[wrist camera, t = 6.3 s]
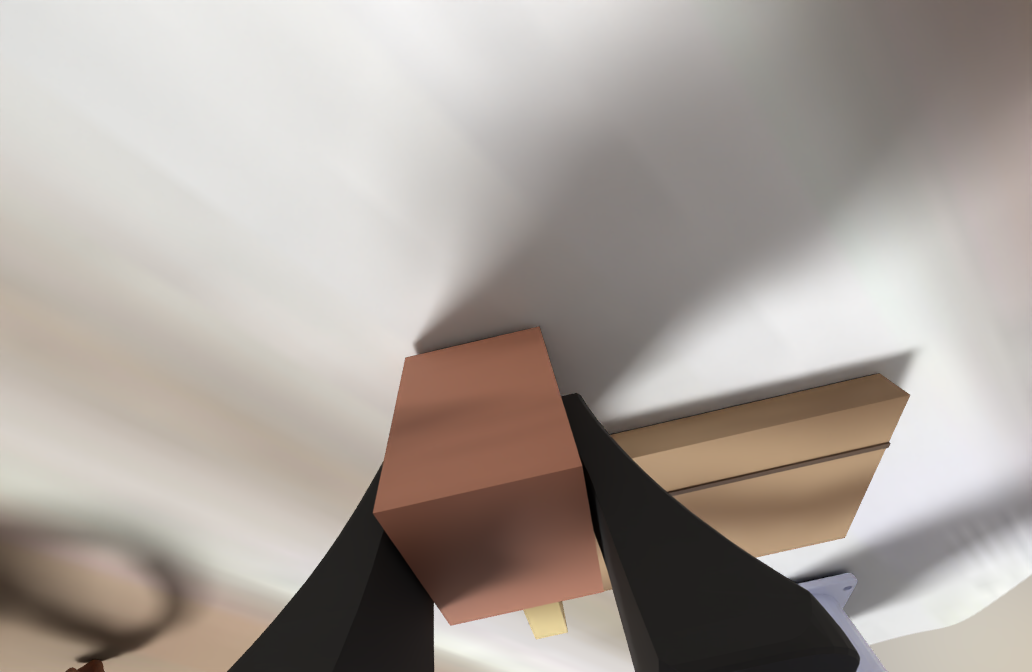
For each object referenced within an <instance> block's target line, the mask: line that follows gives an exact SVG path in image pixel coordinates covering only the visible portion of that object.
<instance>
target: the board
mask: <svg viewBox="0 0 1032 672" xmlns="http://www.w3.org/2000/svg"><path fill="white" fill-rule="evenodd" d="M909 397H910V394H908V393H907V392H905V391H904V390H903V389H901V388H900V387H898V386H897V385H895V384H894V383H893V382H891V381H890V380H888V379H887V378H886V377H884V376H883V375H881V374H880V373H879V374H874V375H870V376H866V377H861V378H857V379H852V380H848V381H844V382H839V383H835V384H831V385H826V386H822V387H818V388H813V389H809V390H804V391H800V392H796V393H791V394H787V395H783V396H778V397H774V398H769V399H765V400H761V401H756V402H752V403H748V404H743V405H739V406H734V407H730V408H726V409H721V410H717V411H713V412H708V413H704V414H700V415H695V416H691V417H686V418H682V419H678V420H673V421H669V422H665V423H660V424H656V425H651V426H647V427H643V428H638V429H634V430H630V431H625V432H621V433H616V434H612V435H610V436H611V437H612V438H613V439H614V440H615V441H616V442H617V443H618V445H619V446H620V447H621V448H622V449H623V450H624V451H625V452H626V453H627V454H628V455H629V456H630V457H631V458H632V459H633V460H634V461H635V462H636V463H637V464H638V465H639V466H640V467H641V468H642V469H643V470H644V471H645V472H646V473H647V474H648V475H649V476H650V477H651V478H652V479H653V480H654V481H655V482H656V483H658V484H659V485H660V486H661V487H662V488H663V489H664V490H666V491H667V492H668V493H669V494H670V495H671V496H672V497H674V498H675V499H676V500H677V501H679V502H680V503H681V504H682V505H683V506H685V507H686V508H687V509H688V510H690V511H691V512H692V513H693V514H695V515H696V516H697V517H699V518H700V519H701V520H703V521H704V522H706V523H707V524H708V525H710V526H711V527H712V528H714V529H715V530H716V531H718V532H719V533H720V534H722V535H723V536H724V537H726V538H727V539H729V540H730V541H731V542H733V543H734V544H736V545H737V546H739V547H740V548H742V549H743V550H745V551H746V552H748V553H749V554H751V555H752V556H754V557H755V558H756V557H760V556H765V555H769V554H774V553H778V552H783V551H787V550H792V549H796V548H801V547H805V546H810V545H815V544H819V543H824V542H828V541H833V540H837V539H842V538H845V536H846V534H847V532H848V530H849V528H850V525H851V523H852V521H853V519H854V517H855V515H856V512H857V510H858V508H859V506H860V504H861V501H862V499H863V497H864V495H865V493H866V491H867V488H868V486H869V484H870V482H871V480H872V477H873V475H874V473H875V471H876V469H877V467H878V464H879V462H880V460H881V458H882V456H883V453H884V451H885V449H886V448H889V445H890V443H889V440H890V438H891V436H892V434H893V432H894V429H895V427H896V425H897V423H898V421H899V419H900V416H901V414H902V412H903V410H904V408H905V406H906V403H907V401H908V399H909ZM594 537H595V542H596V548H597V554H598V560H599V565H600V571H601V577H602V583H603V589H604V591H607V590H611V589H612V586H611V582H610V578H609V575H608V571H607V568H606V565H605V562H604V559H603V556H602V553H601V550H600V547H599V544H598V542H597V539H596V536H595V534H594Z"/></svg>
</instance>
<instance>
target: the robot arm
mask: <svg viewBox="0 0 1032 672" xmlns="http://www.w3.org/2000/svg"><path fill="white" fill-rule="evenodd" d="M561 398H562V401H563V405H564V408H565V411H566V414H567V418H568V421H569V424H570V428H571V431H572V434H573V437H574V441H575V444H576V447H577V450H578V454H579V457H580V460H581V463H582V467H583V473H584V479H585V485H586V490H587V496H588V502H589V508H590V513H591V519H592V525H593V531H594V534H595V536H596V539H597V542H598V544H599V547H600V550H601V553H602V556H603V559H604V562H605V565H606V568H607V571H608V575H609V578H610V582H611V586H612V589H613V593H614V596H615V600H616V604H617V607H618V611H619V614H620V618H621V622H622V625H623V629H624V632H625V636H626V640H627V643H628V647H629V651H630V654H631V658H632V662H633V665H634V669H635V672H887V670H886V669H885V667H884V666H883V664H882V663H881V661H880V660H879V659H878V657H877V656H876V654H875V653H874V652H873V650H872V649H871V647H870V646H869V645H868V643H867V642H866V640H865V639H864V638H863V636H862V635H861V634H860V632H859V631H858V629H857V628H856V627H855V625H854V624H853V622H852V621H851V620H850V618H849V617H848V615H847V614H846V613H845V611H844V610H843V608H844V606H845V604H846V602H847V600H848V599H849V597H850V595H851V593H852V591H853V590H854V588H855V586H856V584H857V582H858V580H857V578H856V577H855V576H854V575H853V574H852V573H844V574H840V575H835V576H831V577H826V578H822V579H817V580H812V581H808V582H803V583H799V584H796V583H795V582H793V581H791V580H790V579H788V578H787V577H785V576H783V575H782V574H780V573H778V572H777V571H775V570H774V569H772V568H771V567H769V566H767V565H766V564H764V563H763V562H761V561H760V560H758V559H756V558H755V557H754V556H752V555H751V554H749V553H748V552H746V551H745V550H743V549H742V548H740V547H739V546H737V545H736V544H734V543H733V542H731V541H730V540H729V539H727V538H726V537H724V536H723V535H722V534H720V533H719V532H718V531H716V530H715V529H714V528H712V527H711V526H710V525H708V524H707V523H706V522H704V521H703V520H701V519H700V518H699V517H697V516H696V515H695V514H693V513H692V512H691V511H690V510H688V509H687V508H686V507H685V506H683V505H682V504H681V503H680V502H679V501H677V500H676V499H675V498H674V497H672V496H671V495H670V494H669V493H668V492H667V491H666V490H664V489H663V488H662V487H661V486H660V485H659V484H658V483H656V482H655V481H654V480H653V479H652V478H651V477H650V476H649V475H648V474H647V473H646V472H645V471H644V470H643V469H642V468H641V467H640V466H639V465H638V464H637V463H636V462H635V461H634V460H633V459H632V458H631V457H630V456H629V455H628V454H627V453H626V452H625V451H624V450H623V449H622V448H621V447H620V446H619V445H618V443H617V442H616V441H615V440H614V439H613V438H612V437H611V436H610V434H609V433H608V432H607V431H606V430H605V429H604V427H603V426H602V425H601V424H600V422H599V421H598V420H597V419H596V417H595V416H594V415H593V413H592V412H591V411H590V409H589V408H588V406H587V405H586V403H585V402H584V400H583V399H582V397H581V395H579V394H577V393H575V394H570V395H566V396H562V397H561ZM383 462H384V461H383ZM382 467H383V463H382V465H381V466H380V468H379V470H378V472H377V474H376V475H375V477H374V479H373V481H372V482H371V484H370V486H369V488H368V489H367V491H366V493H365V494H364V496H363V498H362V500H361V501H360V503H359V505H358V506H357V508H356V510H355V511H354V513H353V514H352V516H351V517H350V519H349V521H348V522H347V524H346V525H345V527H344V528H343V530H342V532H341V533H340V535H339V536H338V538H337V539H336V541H335V542H334V544H333V545H332V546H331V548H330V549H329V551H328V552H327V554H326V555H325V556H324V558H323V559H322V561H321V562H320V563H319V565H318V566H317V567H316V569H315V570H314V571H313V573H312V574H311V575H310V577H309V578H308V579H307V581H306V582H305V583H304V584H303V586H302V587H301V588H300V589H299V591H298V592H297V593H296V594H295V595H294V597H293V598H292V599H291V600H290V602H289V603H288V604H287V605H286V606H285V608H284V609H283V610H282V611H281V612H280V614H279V615H278V616H277V617H276V618H275V620H274V621H273V622H272V623H271V624H270V625H269V627H268V628H267V629H266V630H265V631H264V632H263V633H262V634H261V636H260V637H259V638H258V639H257V640H256V641H255V642H254V643H253V645H252V646H251V647H250V648H249V649H248V650H247V651H246V652H245V653H244V654H243V655H242V656H241V657H240V658H239V660H238V661H237V662H236V663H235V664H234V665H233V666H232V667H231V668H230V669H229V670H228V671H227V672H434V601H433V600H432V598H431V597H430V595H429V594H428V592H427V591H426V590H425V588H424V587H423V585H422V584H421V582H420V581H419V579H418V578H417V577H416V575H415V574H414V572H413V571H412V569H411V568H410V566H409V565H408V564H407V562H406V561H405V559H404V558H403V556H402V555H401V553H400V552H399V551H398V549H397V548H396V546H395V545H394V543H393V542H392V540H391V539H390V538H389V536H388V535H387V533H386V532H385V530H384V529H383V527H382V526H381V525H380V523H379V522H378V520H377V519H376V517H375V516H374V514H373V510H374V505H375V500H376V496H377V491H378V486H379V481H380V477H381V472H382Z"/></svg>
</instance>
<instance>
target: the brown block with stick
mask: <svg viewBox="0 0 1032 672" xmlns="http://www.w3.org/2000/svg"><path fill="white" fill-rule="evenodd" d="M373 514H374V516H375V517H376V519H377V520H378V522H379V523H380V525H381V526H382V527H383V529H384V530H385V532H386V533H387V535H388V536H389V538H390V539H391V540H392V542H393V543H394V545H395V546H396V548H397V549H398V551H399V552H400V553H401V555H402V556H403V558H404V559H405V561H406V562H407V564H408V565H409V566H410V568H411V569H412V571H413V572H414V574H415V575H416V577H417V578H418V579H419V581H420V582H421V584H422V585H423V587H424V588H425V590H426V591H427V592H428V594H429V595H430V597H431V598H432V600H433V601H434V603H435V604H436V605H437V607H438V608H439V610H440V611H441V613H442V614H443V616H444V617H445V618H446V620H447V621H448V623H449V624H450V626H451V625H456V624H460V623H465V622H469V621H474V620H478V619H483V618H487V617H492V616H497V615H501V614H506V613H510V612H515V611H519V610H523V611H524V613H525V615H526V617H527V620H528V622H529V624H530V627H531V629H532V631H533V634H534V636H535V638H536V639H540V638H544V637H549V636H554V635H558V634H563V633H567V632H568V630H567V625H566V620H565V614H564V609H563V604H562V601H565V600H569V599H574V598H578V597H583V596H587V595H592V594H596V593H601V592H604V589H603V583H602V577H601V571H600V565H599V560H598V554H597V548H596V542H595V537H594V531H593V525H592V519H591V513H590V508H589V502H588V496H587V490H586V485H585V479H584V473H583V467H582V463H581V460H580V457H579V454H578V450H577V447H576V444H575V441H574V437H573V434H572V431H571V428H570V424H569V421H568V418H567V414H566V411H565V408H564V405H563V401H562V398H561V395H560V392H559V388H558V385H557V382H556V379H555V375H554V372H553V369H552V366H551V362H550V359H549V356H548V353H547V349H546V346H545V343H544V340H543V336H542V333H541V330H540V326H539V327H535V328H530V329H526V330H522V331H518V332H513V333H509V334H505V335H500V336H496V337H492V338H488V339H483V340H479V341H475V342H470V343H466V344H462V345H458V346H453V347H449V348H445V349H441V350H436V351H432V352H428V353H423V354H419V355H415V356H411V357H406V358H405V362H404V367H403V372H402V377H401V381H400V386H399V391H398V396H397V400H396V405H395V410H394V415H393V419H392V424H391V429H390V434H389V438H388V443H387V448H386V453H385V457H384V462H383V467H382V472H381V477H380V481H379V486H378V491H377V496H376V500H375V505H374V510H373Z"/></svg>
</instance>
